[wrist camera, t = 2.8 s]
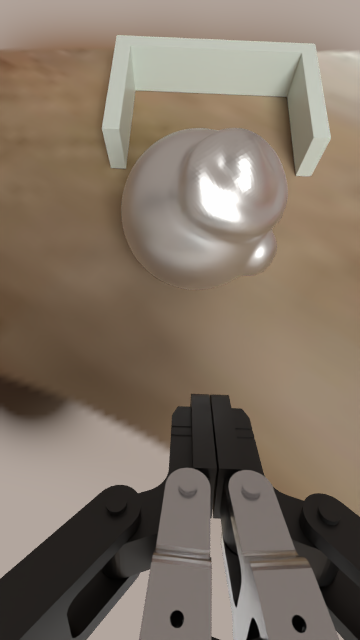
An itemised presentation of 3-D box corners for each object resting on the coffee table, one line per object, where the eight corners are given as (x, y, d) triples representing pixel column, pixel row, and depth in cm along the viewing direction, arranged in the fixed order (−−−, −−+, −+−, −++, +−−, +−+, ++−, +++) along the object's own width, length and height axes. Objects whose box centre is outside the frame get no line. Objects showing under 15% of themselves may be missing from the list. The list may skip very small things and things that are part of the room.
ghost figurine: (187, 344, 21) (198, 268, 11) (107, 243, 23) (62, 113, 14) (287, 270, 23) (368, 154, 13) (204, 185, 25) (222, 36, 16)
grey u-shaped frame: (111, 167, 26) (101, 128, 22) (123, 80, 29) (116, 35, 26) (310, 176, 26) (331, 138, 22) (299, 88, 29) (315, 43, 26)
